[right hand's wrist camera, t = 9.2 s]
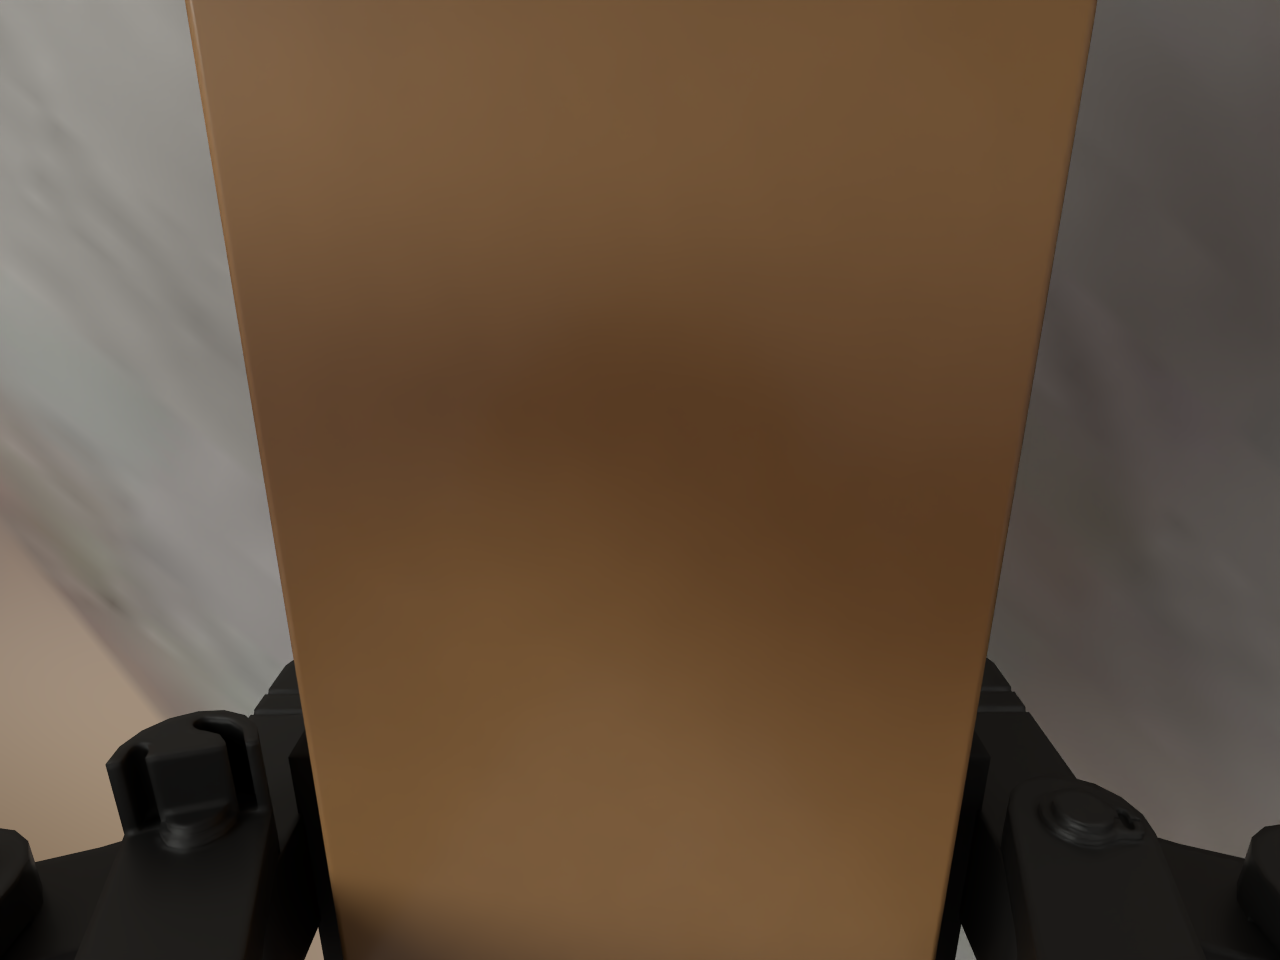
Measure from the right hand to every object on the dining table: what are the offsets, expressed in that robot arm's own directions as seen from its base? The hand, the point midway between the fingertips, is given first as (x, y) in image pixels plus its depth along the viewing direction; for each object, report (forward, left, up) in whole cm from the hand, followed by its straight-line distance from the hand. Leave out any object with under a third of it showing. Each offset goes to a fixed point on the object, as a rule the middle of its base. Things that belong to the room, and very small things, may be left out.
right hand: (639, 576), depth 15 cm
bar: (+7, +4, -1) cm, 8 cm away
